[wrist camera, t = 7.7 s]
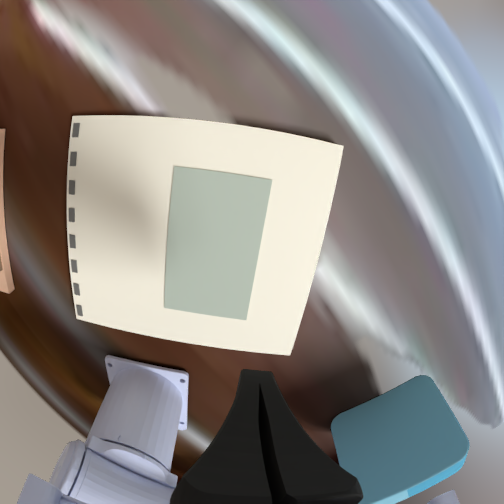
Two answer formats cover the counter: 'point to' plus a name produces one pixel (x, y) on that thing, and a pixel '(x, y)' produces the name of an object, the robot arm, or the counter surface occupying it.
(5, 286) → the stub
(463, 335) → the counter surface
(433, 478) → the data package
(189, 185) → the board
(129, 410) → the robot arm
